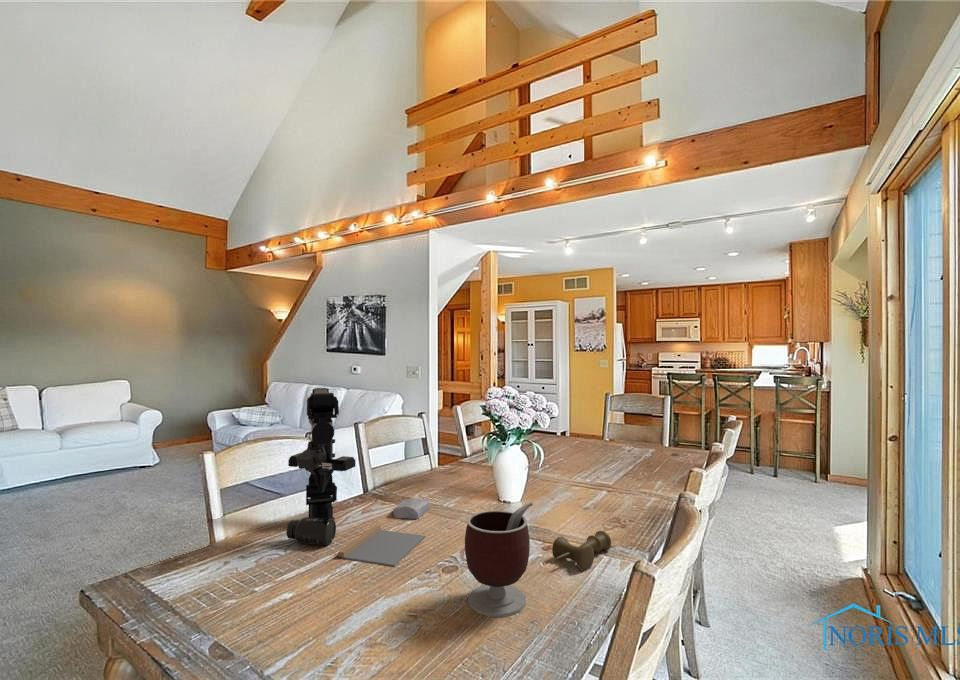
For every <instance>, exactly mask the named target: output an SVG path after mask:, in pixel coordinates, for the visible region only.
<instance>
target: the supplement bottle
mask: <svg viewBox="0 0 960 680" xmlns="http://www.w3.org/2000/svg"><path fill="white" fill-rule="evenodd" d="M336 525H337V524H336V521H335V519H334V520H333V519H327V518H311V517H309V516H308V517H307V516H305V517H302V518H300V520H298V519H296V520H295V519H294V520H290V522H288V525H287V527H286V537H287V538H288V539H292V540H296V542H297V543H299V544H305V545H316V546H317V545H319V546H329V545H331V544H332V543H333V541H334V538H335V537H336V532H337V526H336Z"/></svg>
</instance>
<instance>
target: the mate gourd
mask: <svg viewBox="0 0 960 680" xmlns="http://www.w3.org/2000/svg"><path fill="white" fill-rule="evenodd" d="M532 506H533V502H532V501H529V502H528V503H526V504H524V505H522V506H521V507H518V509H516V510H515V511H514V512H513V511H507V510H485V511H484V510H483V511H479V512H475V513H474V514H471V515H470V516H469V517H468V518H467V521H466V522H467V525H466V528H465V536H464V553H465V561H466V565H467V569H468V571H469V572H470V574H471V575H472V577H474V579H475V580H476V581H477V582H478V583H480V584H482V585H479V586H477V587H476V588H474V589H473V590H471V591H470V592H469V594H468V605H469V606H470V608H471V609H472V610H473V611H475V612H476V613H478V614H480V615H483V616H487V617H492V618H503V617H510V616H514V615H516V614H517V613H520V612H522V610H524V608H525V606H526V601H527V600H526V595H525V594H524V592H523V591H522V590H520V589H519V588H517V587H515V586H513V584H516V583H517V582H518V581H519V580H520V579H521V577H522V576H523V575H524V574H525V573H526V570H527V567H528V565H529V564H528V563H529V558H530V552H531V551H530V541H531V539H530V534H529V533H530V532H529V527H528V520H527V518H526V517H524V514H525V513H526V511H527V510H528V509H529V508H530V507H532Z"/></svg>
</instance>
